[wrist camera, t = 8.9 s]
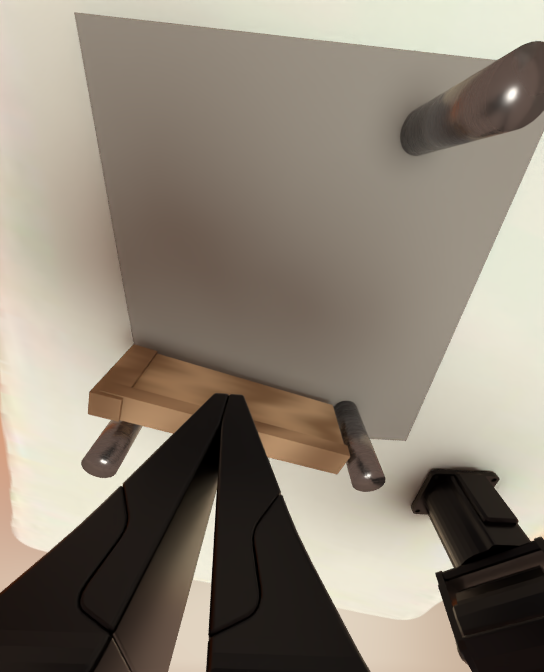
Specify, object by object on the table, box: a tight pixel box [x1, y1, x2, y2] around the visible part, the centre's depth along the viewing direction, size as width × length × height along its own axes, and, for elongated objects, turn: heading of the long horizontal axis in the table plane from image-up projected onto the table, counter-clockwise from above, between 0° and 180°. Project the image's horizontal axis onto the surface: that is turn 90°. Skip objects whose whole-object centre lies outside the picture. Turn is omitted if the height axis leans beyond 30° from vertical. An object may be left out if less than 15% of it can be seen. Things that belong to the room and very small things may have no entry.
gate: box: [88, 344, 350, 474], centre depth 18 cm, size 15×2×5 cm, turn 70°
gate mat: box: [74, 12, 544, 441], centre depth 18 cm, size 24×22×1 cm
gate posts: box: [81, 41, 544, 492], centre depth 15 cm, size 20×18×6 cm
